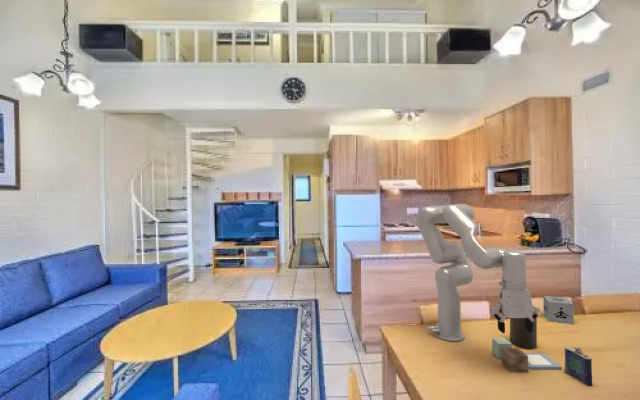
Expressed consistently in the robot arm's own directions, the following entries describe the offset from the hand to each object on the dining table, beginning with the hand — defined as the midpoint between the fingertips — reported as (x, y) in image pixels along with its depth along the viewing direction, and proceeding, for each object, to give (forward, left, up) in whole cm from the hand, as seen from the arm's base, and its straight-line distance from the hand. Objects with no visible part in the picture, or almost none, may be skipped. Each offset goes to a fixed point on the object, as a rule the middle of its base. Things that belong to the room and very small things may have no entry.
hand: (515, 331), depth 117 cm
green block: (0, +9, -14) cm, 17 cm away
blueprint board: (+10, +4, -14) cm, 17 cm away
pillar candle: (+14, +19, -14) cm, 27 cm away
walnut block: (0, 0, -14) cm, 14 cm away
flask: (+18, -6, -14) cm, 23 cm away
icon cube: (+46, +46, -14) cm, 67 cm away
